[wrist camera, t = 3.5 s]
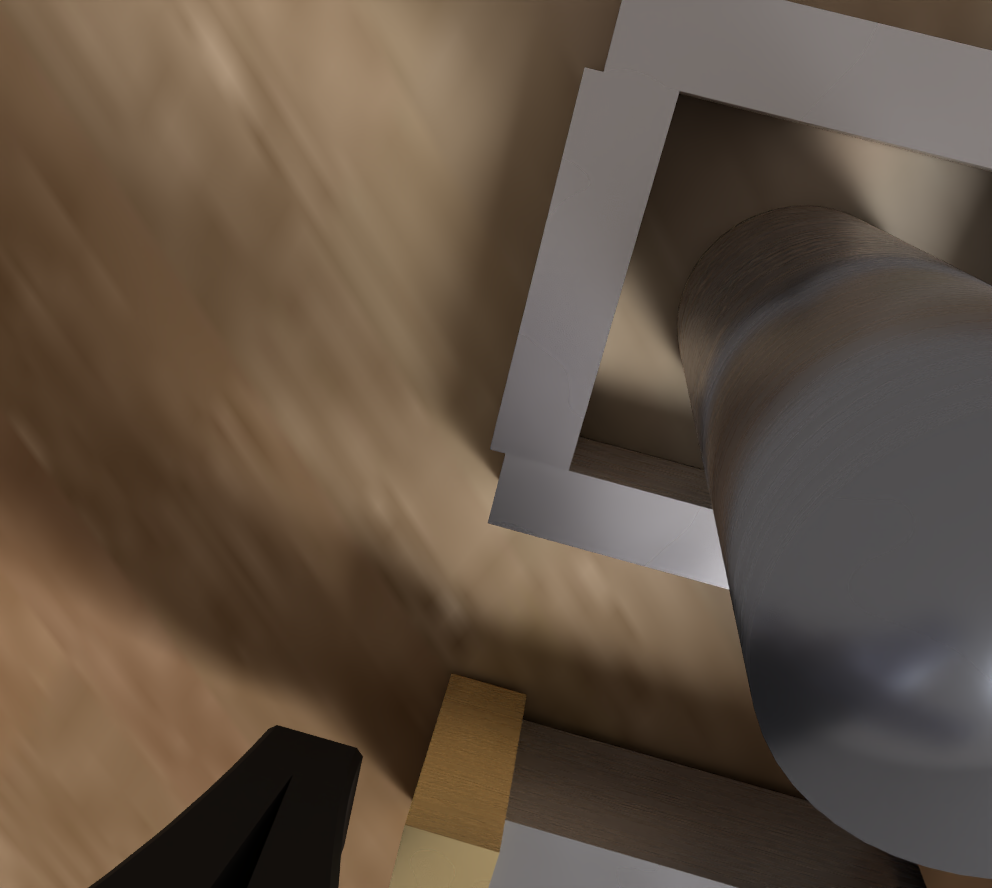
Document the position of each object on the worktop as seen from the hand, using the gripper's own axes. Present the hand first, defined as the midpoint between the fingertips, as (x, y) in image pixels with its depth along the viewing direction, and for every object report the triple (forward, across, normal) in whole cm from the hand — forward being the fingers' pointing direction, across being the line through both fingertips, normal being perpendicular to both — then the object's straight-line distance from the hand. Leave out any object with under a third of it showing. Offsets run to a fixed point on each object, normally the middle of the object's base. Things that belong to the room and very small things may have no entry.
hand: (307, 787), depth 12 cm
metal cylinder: (+2, -5, -8) cm, 9 cm away
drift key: (+2, -6, 0) cm, 6 cm away
